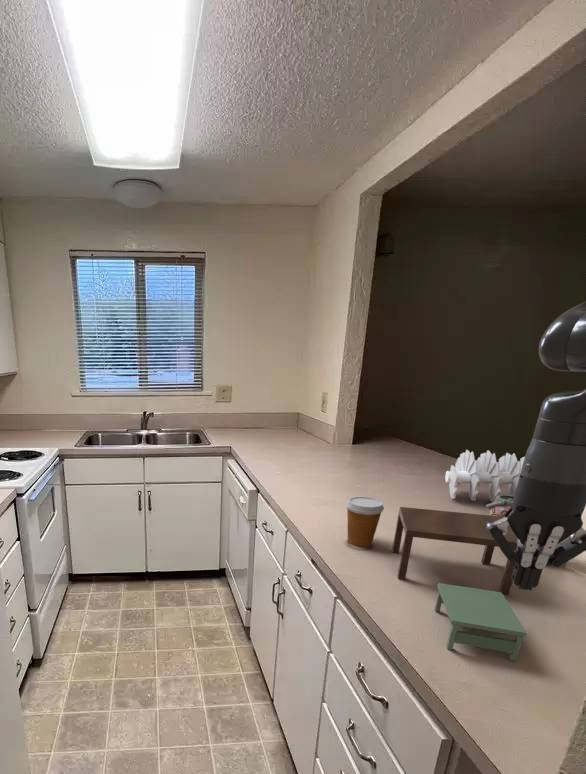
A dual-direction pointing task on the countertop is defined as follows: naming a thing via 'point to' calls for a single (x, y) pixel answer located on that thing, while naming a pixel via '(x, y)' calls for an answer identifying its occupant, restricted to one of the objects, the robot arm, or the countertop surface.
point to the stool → (480, 618)
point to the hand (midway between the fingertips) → (522, 587)
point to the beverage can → (500, 505)
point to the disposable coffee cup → (363, 519)
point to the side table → (449, 535)
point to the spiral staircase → (484, 473)
